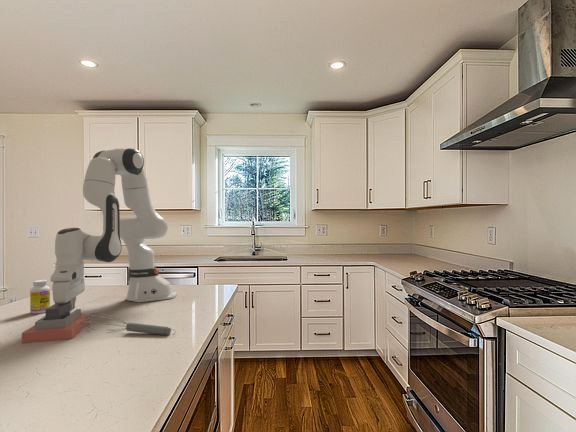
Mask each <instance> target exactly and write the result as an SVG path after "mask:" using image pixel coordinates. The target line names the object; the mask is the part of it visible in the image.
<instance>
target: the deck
mask: <svg viewBox="0 0 576 432" xmlns="http://www.w3.org/2000/svg"><path fill="white" fill-rule="evenodd" d="M85 316H86V317H85ZM85 318H86V319H87V320H86V319H85ZM88 318H89V319H88ZM84 320H86V321H88V322H83V321H84ZM82 323H83V324H82ZM85 323H86V324H85ZM89 324H90V315H89V316H88V317H87V314H85V315H82V310H81V308H77V309H75V310H74V311H71V312H70V315H68V316H67V317H65V318H64V319H54V320H46V315H44V316H42V317H41V318H39V319H38V320H36V321H35V322H34V325H32V326H30V327H29V328H28V329H26V330H24V331H23V332H21V344H24V343H27V344H28V343H36V342H49V341H58V340H59V341H60V340H61V339H62V340H70V339H71V340H72V339H74V338H75V337H76V336H77V335H78V334H79V333H80V332H81V331H82V330H84V328H86V327H88V325H89ZM83 325H84V326H83ZM83 327H84V328H83Z"/></svg>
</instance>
